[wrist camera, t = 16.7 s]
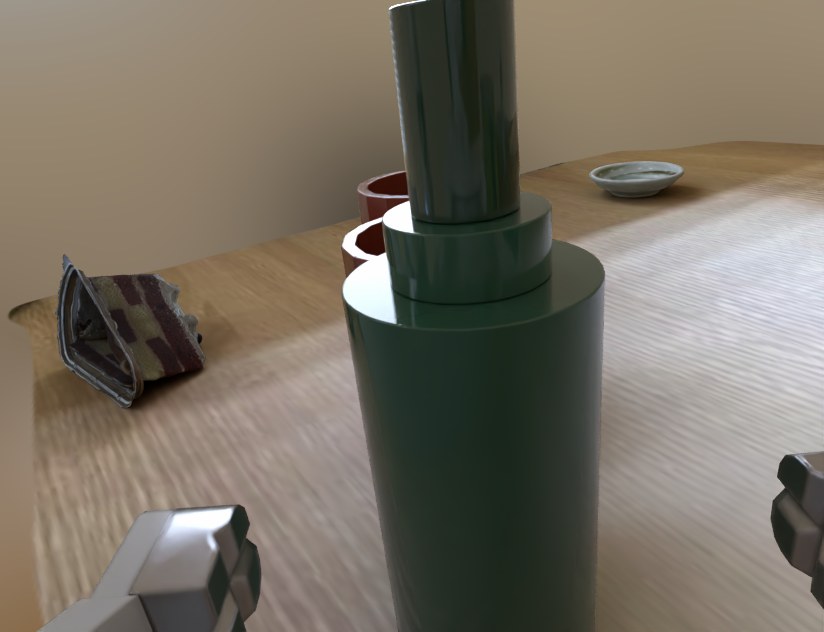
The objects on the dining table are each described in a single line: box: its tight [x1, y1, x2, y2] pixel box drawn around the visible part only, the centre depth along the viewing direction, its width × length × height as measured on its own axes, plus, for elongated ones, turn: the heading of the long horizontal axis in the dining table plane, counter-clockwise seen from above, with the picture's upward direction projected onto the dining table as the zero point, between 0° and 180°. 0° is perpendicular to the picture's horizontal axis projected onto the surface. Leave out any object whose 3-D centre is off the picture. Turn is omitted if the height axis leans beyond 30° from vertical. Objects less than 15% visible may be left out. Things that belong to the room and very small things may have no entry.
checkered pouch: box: [55, 254, 205, 408], centre depth 40 cm, size 10×7×12 cm
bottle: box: [342, 0, 605, 632], centre depth 16 cm, size 6×6×18 cm
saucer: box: [590, 161, 684, 197], centre depth 66 cm, size 10×10×2 cm
